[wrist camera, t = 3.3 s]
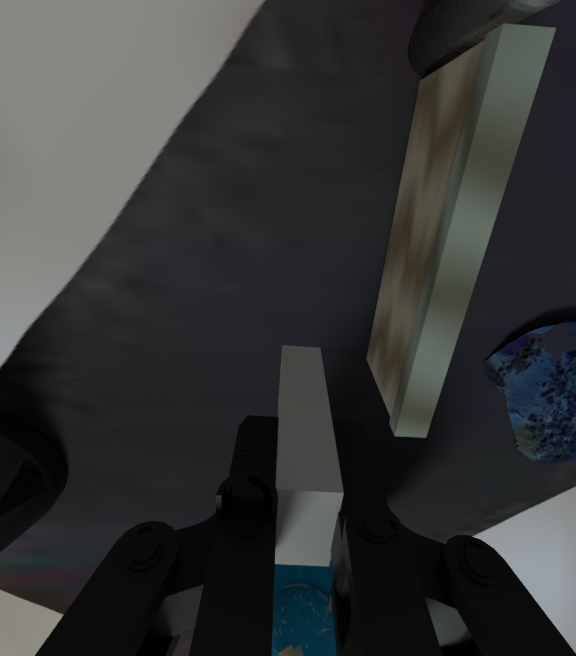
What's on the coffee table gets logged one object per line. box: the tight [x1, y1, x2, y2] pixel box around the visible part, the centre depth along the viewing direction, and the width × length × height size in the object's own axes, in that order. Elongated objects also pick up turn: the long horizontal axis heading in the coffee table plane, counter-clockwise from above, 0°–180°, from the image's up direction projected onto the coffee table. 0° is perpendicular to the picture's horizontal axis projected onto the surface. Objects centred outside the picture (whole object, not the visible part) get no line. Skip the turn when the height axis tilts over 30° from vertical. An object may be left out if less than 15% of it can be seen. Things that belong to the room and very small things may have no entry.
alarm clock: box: [272, 559, 337, 656], centre depth 31 cm, size 17×10×20 cm, turn 37°
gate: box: [366, 23, 556, 438], centre depth 21 cm, size 20×3×9 cm, turn 176°
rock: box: [483, 320, 576, 464], centre depth 32 cm, size 15×17×2 cm
